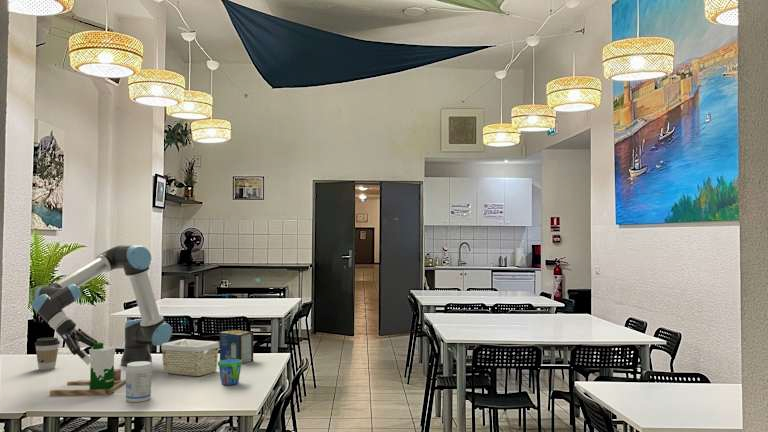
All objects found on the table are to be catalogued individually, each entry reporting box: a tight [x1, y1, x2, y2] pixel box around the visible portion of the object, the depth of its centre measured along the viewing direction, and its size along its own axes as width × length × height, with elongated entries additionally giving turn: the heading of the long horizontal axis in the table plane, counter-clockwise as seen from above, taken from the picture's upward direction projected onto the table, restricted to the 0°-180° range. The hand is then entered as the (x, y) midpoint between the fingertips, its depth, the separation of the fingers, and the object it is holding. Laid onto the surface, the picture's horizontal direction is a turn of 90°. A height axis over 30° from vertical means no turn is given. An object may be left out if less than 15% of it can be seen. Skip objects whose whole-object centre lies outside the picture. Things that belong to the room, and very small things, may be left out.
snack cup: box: [217, 359, 243, 386], centre depth 276 cm, size 16×10×10 cm
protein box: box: [219, 329, 254, 364], centre depth 327 cm, size 10×15×16 cm
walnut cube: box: [114, 368, 122, 381], centre depth 277 cm, size 5×5×5 cm
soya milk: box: [88, 342, 117, 390], centre depth 265 cm, size 9×9×20 cm
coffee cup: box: [34, 337, 61, 371], centre depth 308 cm, size 11×11×15 cm
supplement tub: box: [125, 361, 153, 403], centre depth 249 cm, size 10×10×15 cm
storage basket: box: [160, 338, 220, 377], centre depth 300 cm, size 24×16×15 cm
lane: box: [49, 380, 126, 397], centre depth 264 cm, size 25×17×2 cm
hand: (97, 359), depth 264 cm, fingers open, 13 cm apart
